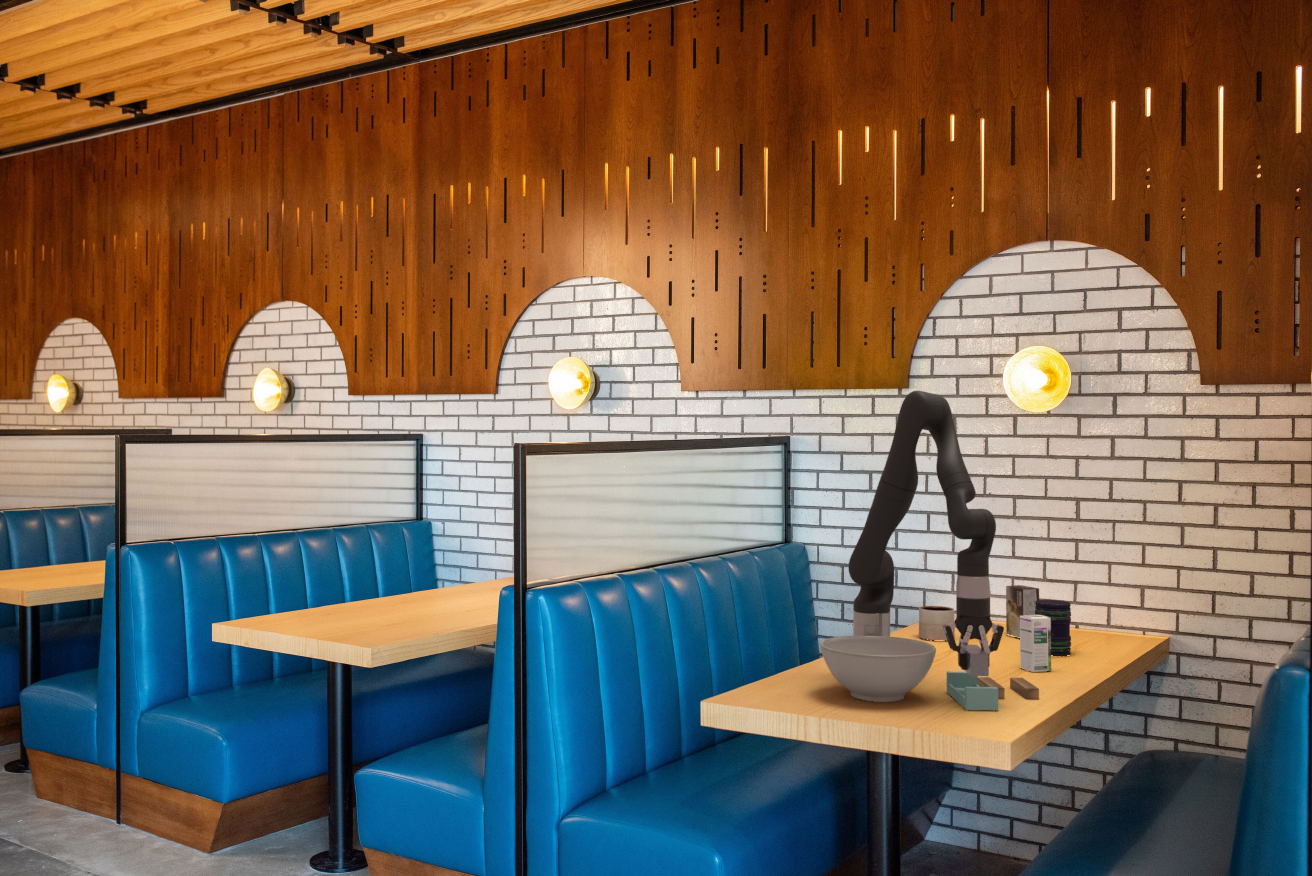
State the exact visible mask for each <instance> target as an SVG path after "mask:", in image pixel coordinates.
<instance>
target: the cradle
mask: <svg viewBox="0 0 1312 876" xmlns="http://www.w3.org/2000/svg"><path fill="white" fill-rule="evenodd" d="M978 677H979V676H970V675H969V674H968V673H967V672H966V671H946V694H948V695H949V696H950V697H951V696H952V697H953V698H954V699H955V700H954V699H953V700H954V701H955V702H956V703H957V704H959V705H960V706H961V707H962V708H963V707H964V708H965V710H966V711H967V710H993V711H992V712H999V699H998V688H997V687H980V686H978ZM952 697H951V698H952ZM964 708H963V709H964ZM995 710H996V711H995Z"/></svg>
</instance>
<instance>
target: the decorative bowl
mask: <svg viewBox="0 0 1312 876" xmlns="http://www.w3.org/2000/svg"><path fill="white" fill-rule="evenodd" d="M819 646H820V651H821V654H822V656H823V659H824V662H825V664H826V666H827V669H828V670H829V672H830V673H831V675H832V676H833V677H834V678H835V680H836V681H837V683H839V684H840V685H841V686H843V687H844V688H846V689H847V690H849V691H850V696H851V695H852V696H853V697H852V696H851V697H852V698H854V697H855V698H854V699H858V700H860V699H861V701H865V700H866V701H865V702H872V701H873V703H893V702H899V701H902V700H903V699H904V698H905V695H906V693H908V692H911V691H912V690H913V689H915V688H916V687H917V686H918V685H919V684H920V683H921V682H922V681H923V680H924V679H925V678H926V676H927V675H928V673H929V671H930V669H931V667H932V666H933V663H934V659H935V657H936V653H937V648H936V647H935V646H934V644H931V643H928V642H925V641H924V640H917V639H912V638H906V637H898V636H890V637H889V636H853V635H845V636H836V637H835V636H834V637H830V638H827V639H824V640H821V642H820V645H819Z"/></svg>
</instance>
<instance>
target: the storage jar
mask: <svg viewBox="0 0 1312 876" xmlns="http://www.w3.org/2000/svg"><path fill="white" fill-rule="evenodd" d="M1035 604H1036V606H1035V609H1036V610H1035V614H1036V615H1044V616H1047V617H1050V618H1051V655H1053V656H1067V655H1070V654H1071V647H1072V636H1071V635H1070V634H1071V632H1070V631H1071V623H1072V612H1071V611H1072V608H1071V605H1072V604H1071V601H1065V600H1056V599H1039V600H1037V601H1035ZM1071 655H1072V654H1071Z"/></svg>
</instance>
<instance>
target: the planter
mask: <svg viewBox="0 0 1312 876" xmlns="http://www.w3.org/2000/svg"><path fill="white" fill-rule="evenodd" d="M954 622H955V609H954V608H953V607H950V606H949V607H948V606H941V605H940V606H939V605H922V606H920V607H918V637H919V638H920V639H921V638H922V639H921V640H923V639H928V640H947V638H946V635H945V632H944V629H943V626H944V625H945V624H946V625H949V624H952V623H954ZM955 632H956V631H955ZM955 632H954V633H953V636H954V638H955V637H956V636H955V635H956V634H955Z"/></svg>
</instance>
